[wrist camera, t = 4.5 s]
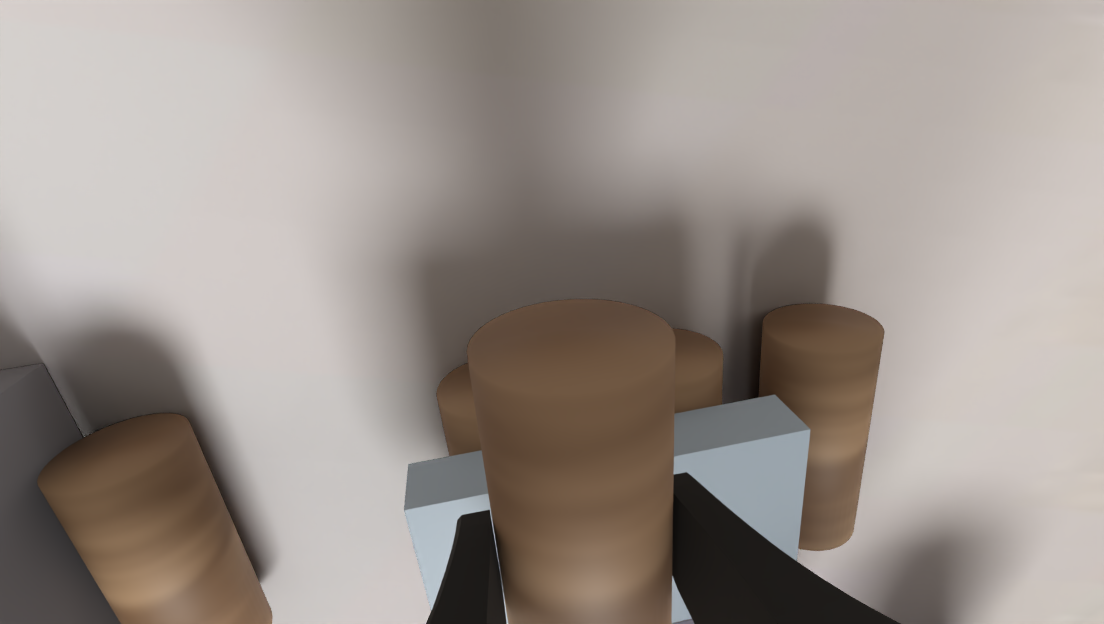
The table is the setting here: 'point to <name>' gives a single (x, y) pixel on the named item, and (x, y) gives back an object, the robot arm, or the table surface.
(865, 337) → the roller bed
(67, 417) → the bumper
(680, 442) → the slab
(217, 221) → the table surface
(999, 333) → the table surface
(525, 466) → the roller
